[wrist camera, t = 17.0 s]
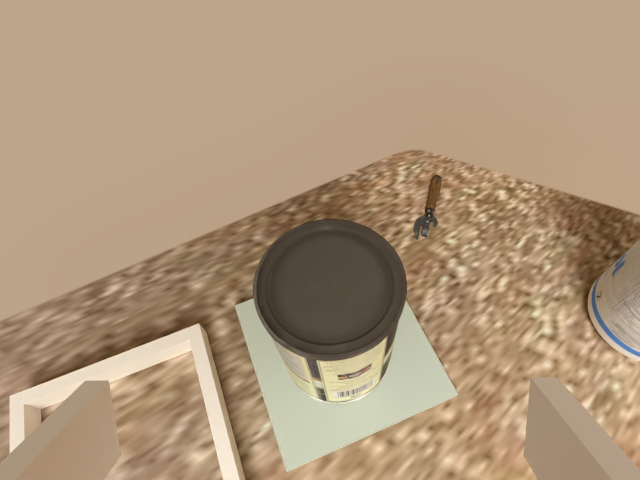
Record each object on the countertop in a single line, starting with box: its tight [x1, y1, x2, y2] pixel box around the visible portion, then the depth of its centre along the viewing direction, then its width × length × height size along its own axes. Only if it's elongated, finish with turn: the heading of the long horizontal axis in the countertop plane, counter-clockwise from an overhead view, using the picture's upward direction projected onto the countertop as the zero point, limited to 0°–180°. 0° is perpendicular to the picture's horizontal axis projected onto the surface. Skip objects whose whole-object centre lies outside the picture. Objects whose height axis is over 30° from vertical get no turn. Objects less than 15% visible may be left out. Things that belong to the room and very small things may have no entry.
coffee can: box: [253, 219, 407, 405], centre depth 35 cm, size 10×10×14 cm
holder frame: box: [10, 323, 246, 480], centre depth 37 cm, size 17×17×2 cm
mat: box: [235, 298, 458, 472], centre depth 41 cm, size 16×16×1 cm
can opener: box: [414, 175, 441, 240], centre depth 49 cm, size 9×2×1 cm, turn 156°
